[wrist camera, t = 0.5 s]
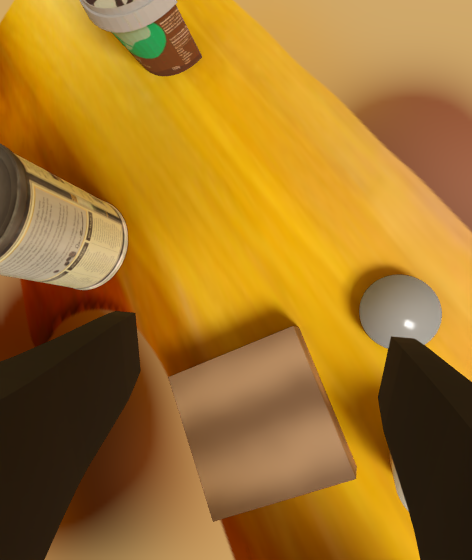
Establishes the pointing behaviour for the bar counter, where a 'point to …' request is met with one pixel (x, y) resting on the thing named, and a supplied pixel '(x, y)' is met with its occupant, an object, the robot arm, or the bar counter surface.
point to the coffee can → (55, 228)
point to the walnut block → (261, 425)
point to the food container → (148, 32)
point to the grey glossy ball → (400, 310)
